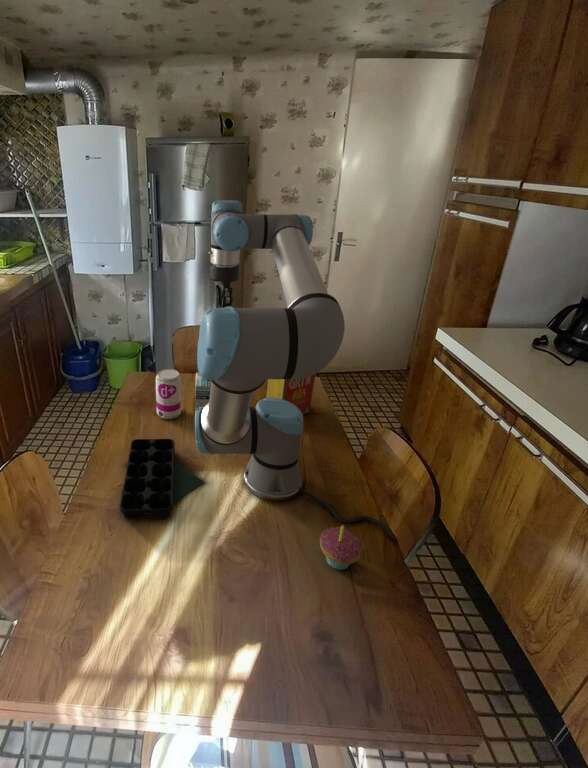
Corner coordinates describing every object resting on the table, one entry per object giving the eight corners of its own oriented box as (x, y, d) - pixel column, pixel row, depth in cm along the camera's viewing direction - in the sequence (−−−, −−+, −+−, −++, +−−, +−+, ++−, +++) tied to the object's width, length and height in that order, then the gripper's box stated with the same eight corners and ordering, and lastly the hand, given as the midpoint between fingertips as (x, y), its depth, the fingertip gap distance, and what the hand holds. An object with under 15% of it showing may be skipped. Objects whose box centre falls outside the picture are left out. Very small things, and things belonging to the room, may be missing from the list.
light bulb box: (214, 415, 146) (215, 386, 141) (194, 414, 146) (195, 386, 141) (214, 399, 156) (215, 372, 151) (195, 398, 156) (195, 371, 151)
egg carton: (122, 529, 100) (121, 516, 99) (113, 452, 127) (112, 441, 125) (195, 516, 104) (196, 504, 103) (172, 444, 130) (172, 433, 129)
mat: (204, 482, 115) (204, 482, 115) (173, 502, 109) (173, 502, 108) (157, 449, 128) (157, 448, 128) (126, 465, 122) (126, 464, 121)
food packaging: (280, 422, 142) (288, 352, 132) (263, 409, 150) (269, 341, 139) (311, 412, 148) (321, 344, 137) (293, 400, 156) (301, 335, 145)
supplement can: (178, 421, 142) (177, 380, 136) (153, 418, 144) (152, 377, 137) (183, 408, 149) (183, 369, 143) (160, 406, 151) (159, 367, 144)
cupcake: (351, 584, 88) (362, 541, 83) (311, 565, 92) (318, 523, 87) (362, 554, 95) (372, 513, 90) (323, 538, 99) (331, 497, 94)
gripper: (206, 259, 118) (205, 340, 128) (214, 270, 106) (211, 358, 116) (234, 258, 119) (230, 339, 129) (244, 269, 107) (239, 357, 117)
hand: (221, 348), depth 123 cm, fingers closed
